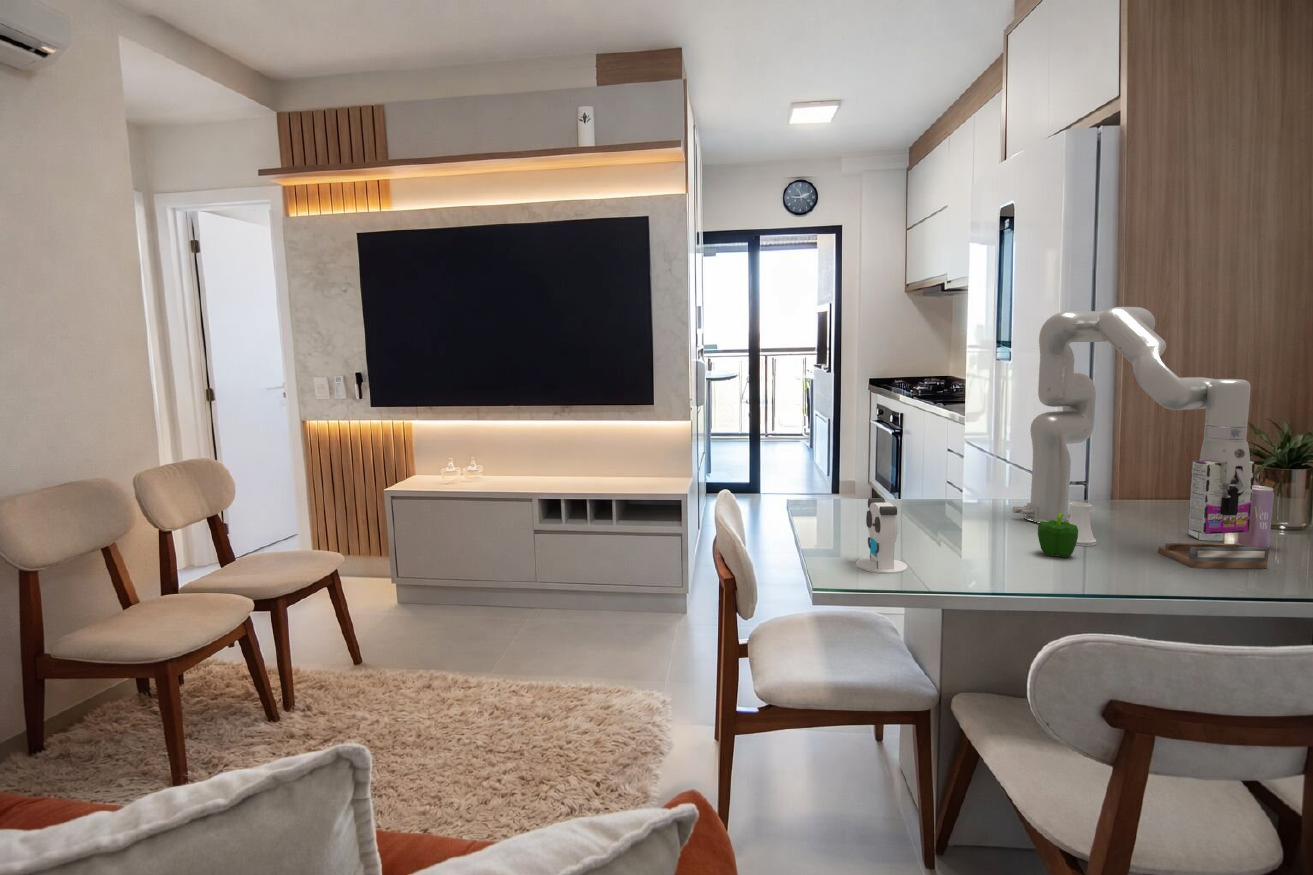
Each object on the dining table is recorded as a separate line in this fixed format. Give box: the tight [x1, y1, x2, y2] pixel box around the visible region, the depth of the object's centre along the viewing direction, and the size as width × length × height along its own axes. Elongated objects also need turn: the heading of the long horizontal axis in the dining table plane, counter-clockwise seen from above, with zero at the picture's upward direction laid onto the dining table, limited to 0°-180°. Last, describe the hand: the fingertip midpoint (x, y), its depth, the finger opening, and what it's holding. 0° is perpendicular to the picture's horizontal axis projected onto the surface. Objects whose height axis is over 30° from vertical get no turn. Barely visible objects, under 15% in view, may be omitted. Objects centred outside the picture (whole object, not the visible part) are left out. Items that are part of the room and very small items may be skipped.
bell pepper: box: [1037, 513, 1078, 558], centre depth 169 cm, size 8×8×10 cm
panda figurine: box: [855, 497, 909, 575], centre depth 162 cm, size 12×11×15 cm
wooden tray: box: [1157, 542, 1270, 569], centre depth 163 cm, size 16×12×4 cm
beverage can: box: [1237, 484, 1275, 549], centre depth 173 cm, size 6×6×15 cm
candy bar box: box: [1187, 460, 1255, 534], centre depth 160 cm, size 11×5×16 cm, turn 95°
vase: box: [1069, 501, 1097, 547], centre depth 180 cm, size 8×8×10 cm
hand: (1218, 511), depth 161 cm, fingers closed on candy bar box, 5 cm apart
